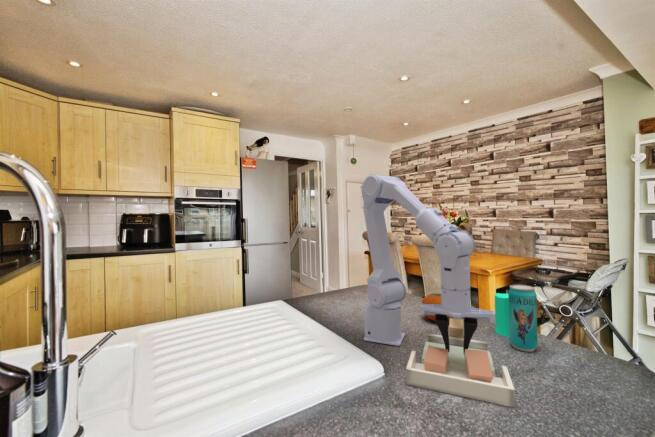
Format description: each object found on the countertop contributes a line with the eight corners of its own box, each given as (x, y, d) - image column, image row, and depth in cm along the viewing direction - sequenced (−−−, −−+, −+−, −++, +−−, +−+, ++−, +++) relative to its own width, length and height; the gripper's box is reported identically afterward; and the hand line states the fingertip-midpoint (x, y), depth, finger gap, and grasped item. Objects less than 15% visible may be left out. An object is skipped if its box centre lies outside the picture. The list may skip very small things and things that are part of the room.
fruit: (464, 325, 86) (464, 298, 86) (432, 327, 85) (431, 300, 85) (444, 313, 97) (444, 290, 97) (415, 315, 95) (415, 291, 95)
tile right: (468, 380, 56) (469, 374, 55) (463, 354, 60) (465, 348, 59) (490, 382, 55) (493, 377, 54) (485, 357, 59) (487, 351, 57)
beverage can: (511, 350, 70) (510, 288, 70) (507, 341, 75) (506, 283, 75) (540, 355, 67) (538, 290, 67) (534, 345, 72) (533, 285, 72)
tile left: (424, 371, 60) (424, 361, 59) (429, 354, 64) (428, 345, 63) (445, 376, 58) (445, 366, 57) (448, 359, 62) (448, 349, 61)
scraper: (428, 348, 72) (427, 326, 72) (430, 335, 79) (430, 315, 79) (487, 357, 66) (487, 333, 66) (484, 343, 74) (483, 322, 74)
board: (421, 365, 63) (421, 358, 63) (425, 347, 72) (425, 341, 72) (495, 379, 57) (495, 371, 57) (490, 358, 66) (489, 351, 66)
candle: (524, 338, 76) (523, 293, 76) (500, 336, 78) (499, 292, 78) (514, 329, 82) (514, 287, 82) (491, 328, 83) (491, 287, 84)
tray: (406, 384, 56) (405, 368, 56) (412, 364, 64) (412, 350, 64) (515, 407, 49) (514, 390, 49) (506, 381, 56) (506, 366, 56)
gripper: (417, 289, 61) (418, 353, 61) (496, 295, 55) (498, 366, 55) (421, 282, 67) (422, 340, 67) (492, 287, 61) (493, 351, 61)
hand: (456, 351), depth 62 cm, fingers open, 3 cm apart
